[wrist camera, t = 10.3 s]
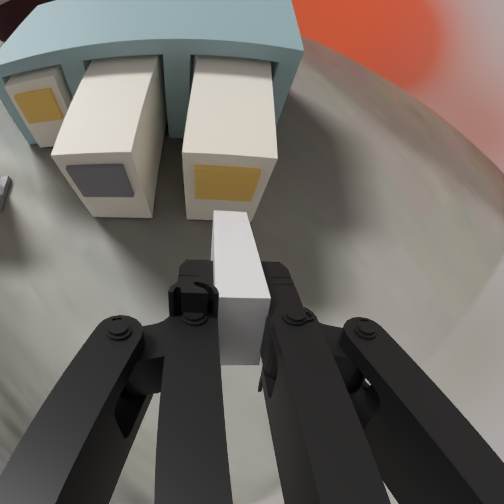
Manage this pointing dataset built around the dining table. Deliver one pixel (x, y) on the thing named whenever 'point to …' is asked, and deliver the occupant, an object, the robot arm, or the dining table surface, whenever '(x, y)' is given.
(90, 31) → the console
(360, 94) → the dining table surface
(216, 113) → the button
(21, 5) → the coffee cup
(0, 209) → the card
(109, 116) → the middle button
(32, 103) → the button
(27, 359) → the dining table surface
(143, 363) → the robot arm
